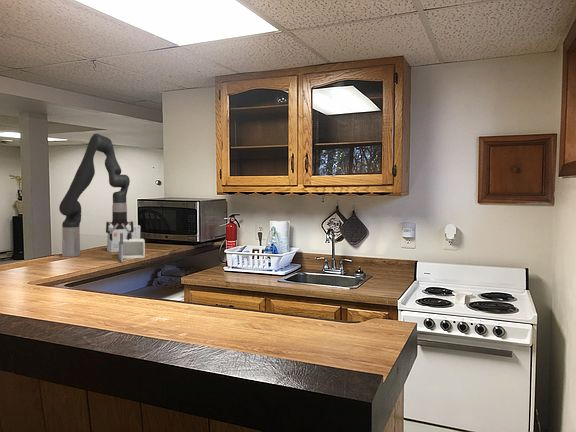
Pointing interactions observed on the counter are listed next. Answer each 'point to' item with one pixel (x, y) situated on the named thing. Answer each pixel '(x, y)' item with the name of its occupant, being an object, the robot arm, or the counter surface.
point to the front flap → (121, 247)
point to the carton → (133, 248)
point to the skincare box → (114, 244)
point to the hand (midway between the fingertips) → (119, 240)
